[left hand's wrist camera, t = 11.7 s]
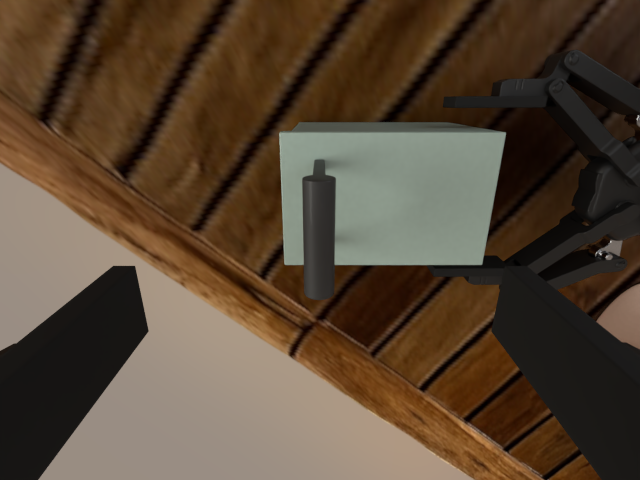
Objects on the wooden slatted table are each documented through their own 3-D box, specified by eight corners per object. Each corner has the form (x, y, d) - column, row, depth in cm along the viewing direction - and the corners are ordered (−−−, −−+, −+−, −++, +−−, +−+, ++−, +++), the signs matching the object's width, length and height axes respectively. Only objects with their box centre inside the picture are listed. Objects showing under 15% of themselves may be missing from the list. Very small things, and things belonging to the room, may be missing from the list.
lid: (285, 259, 28) (271, 325, 20) (280, 131, 24) (260, 146, 16) (476, 259, 28) (541, 325, 20) (499, 131, 24) (589, 146, 16)
